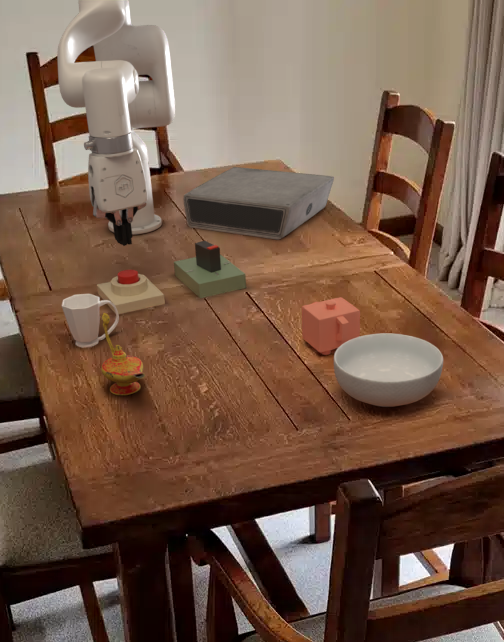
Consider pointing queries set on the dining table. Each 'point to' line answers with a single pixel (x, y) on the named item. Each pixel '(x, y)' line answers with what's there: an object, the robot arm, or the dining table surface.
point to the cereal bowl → (387, 368)
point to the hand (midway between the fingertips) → (124, 243)
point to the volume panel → (209, 277)
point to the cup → (85, 318)
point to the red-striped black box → (208, 256)
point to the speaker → (256, 201)
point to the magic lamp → (121, 367)
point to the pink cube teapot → (330, 324)
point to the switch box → (131, 294)
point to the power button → (128, 277)
